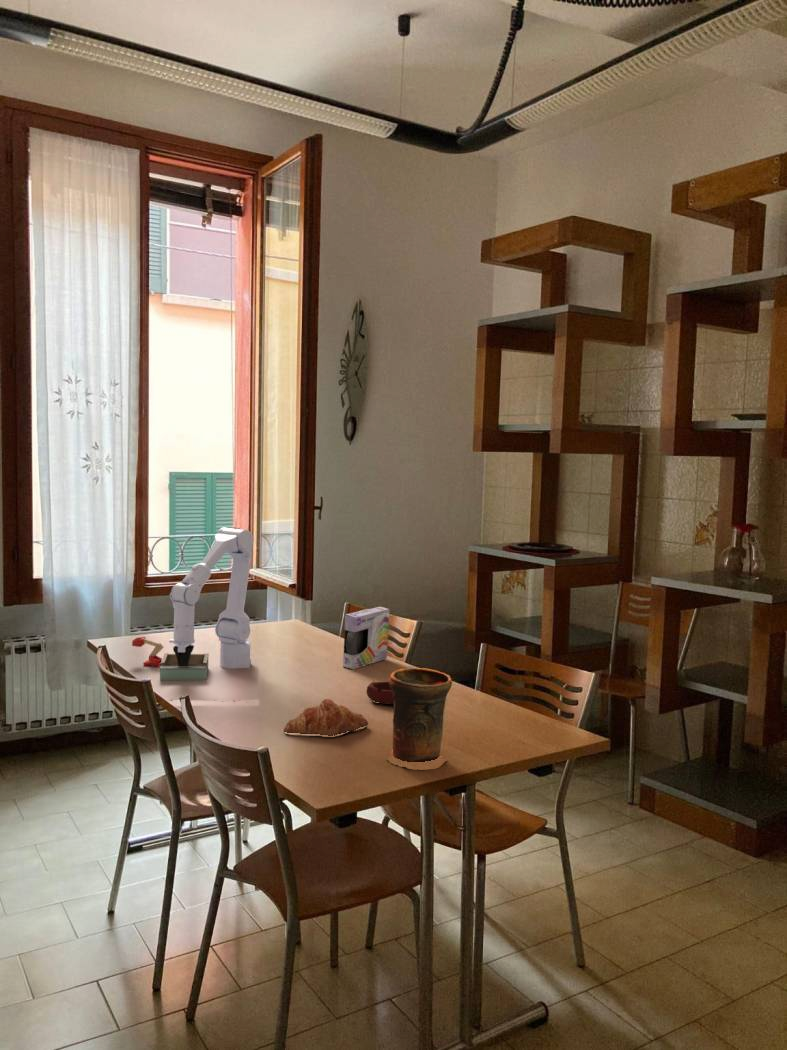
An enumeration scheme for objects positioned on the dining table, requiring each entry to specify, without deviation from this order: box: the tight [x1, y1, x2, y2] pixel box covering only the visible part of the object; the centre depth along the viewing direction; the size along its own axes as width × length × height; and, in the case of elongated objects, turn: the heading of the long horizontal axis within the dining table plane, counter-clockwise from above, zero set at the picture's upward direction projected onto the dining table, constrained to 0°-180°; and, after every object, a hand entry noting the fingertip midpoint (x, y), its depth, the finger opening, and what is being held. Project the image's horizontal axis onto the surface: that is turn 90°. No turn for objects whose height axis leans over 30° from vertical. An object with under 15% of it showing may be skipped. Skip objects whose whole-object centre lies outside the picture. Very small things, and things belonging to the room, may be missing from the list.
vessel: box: [388, 667, 453, 762], centre depth 198 cm, size 14×14×20 cm
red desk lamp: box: [131, 636, 164, 668], centre depth 264 cm, size 3×14×10 cm, turn 84°
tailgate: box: [159, 666, 207, 681], centre depth 250 cm, size 13×1×4 cm, turn 99°
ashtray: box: [366, 680, 394, 705], centre depth 243 cm, size 18×16×5 cm
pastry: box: [283, 698, 369, 736], centre depth 216 cm, size 17×15×8 cm
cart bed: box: [161, 653, 209, 678], centre depth 257 cm, size 13×11×6 cm
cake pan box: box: [342, 606, 390, 670], centre depth 281 cm, size 19×5×18 cm, turn 143°
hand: (183, 670), depth 250 cm, fingers closed, pressing on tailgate
